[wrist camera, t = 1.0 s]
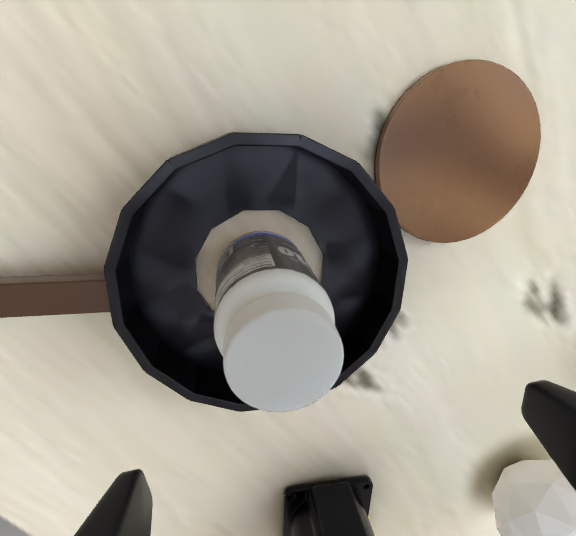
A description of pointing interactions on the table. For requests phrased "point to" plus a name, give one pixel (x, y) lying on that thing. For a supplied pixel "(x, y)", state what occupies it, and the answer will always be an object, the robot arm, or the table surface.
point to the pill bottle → (274, 325)
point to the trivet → (458, 150)
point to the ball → (534, 500)
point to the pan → (192, 234)
